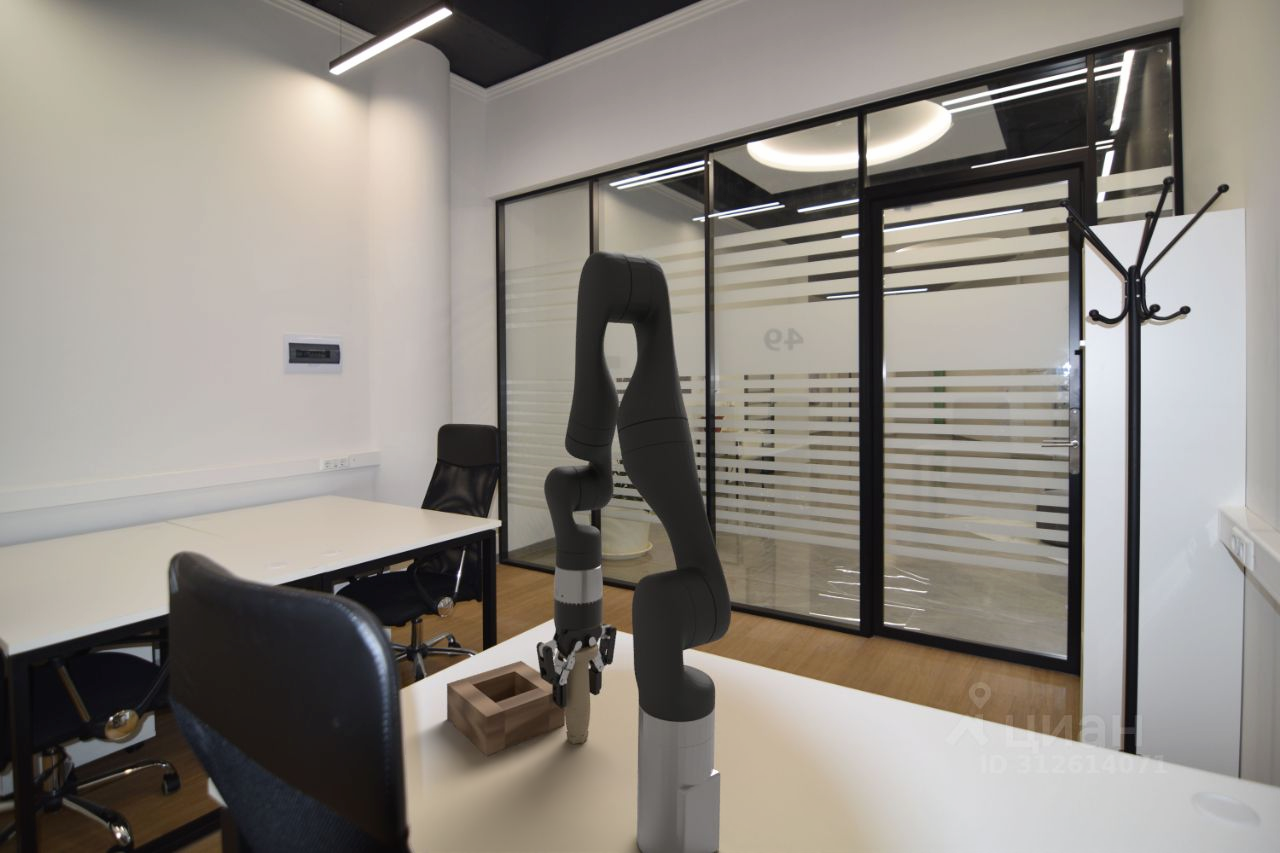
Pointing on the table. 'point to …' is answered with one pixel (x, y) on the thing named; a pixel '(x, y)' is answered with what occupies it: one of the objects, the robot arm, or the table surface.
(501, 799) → the table surface
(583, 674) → the handle
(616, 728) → the table surface
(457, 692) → the wooden block
